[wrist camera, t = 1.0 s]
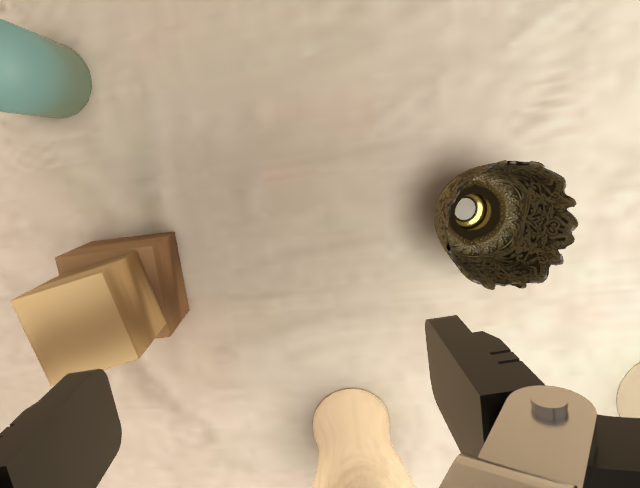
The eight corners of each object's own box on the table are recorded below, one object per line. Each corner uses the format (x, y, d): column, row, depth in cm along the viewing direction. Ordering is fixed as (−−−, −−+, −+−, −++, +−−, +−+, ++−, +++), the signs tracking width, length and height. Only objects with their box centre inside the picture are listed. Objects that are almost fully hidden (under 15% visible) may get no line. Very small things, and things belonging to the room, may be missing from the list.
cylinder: (10, 47, 30) (-62, 23, 24) (82, 38, 30) (29, 12, 24) (28, 122, 31) (-36, 116, 25) (98, 113, 31) (50, 105, 25)
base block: (92, 241, 33) (55, 257, 28) (174, 231, 33) (152, 245, 28) (109, 319, 34) (77, 347, 30) (189, 309, 34) (170, 336, 30)
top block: (60, 274, 28) (10, 301, 24) (136, 250, 28) (101, 272, 23) (92, 346, 30) (50, 385, 25) (166, 323, 29) (138, 359, 24)
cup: (408, 256, 34) (439, 288, 26) (418, 154, 32) (454, 156, 25) (507, 260, 34) (567, 294, 26) (522, 160, 33) (589, 164, 25)
